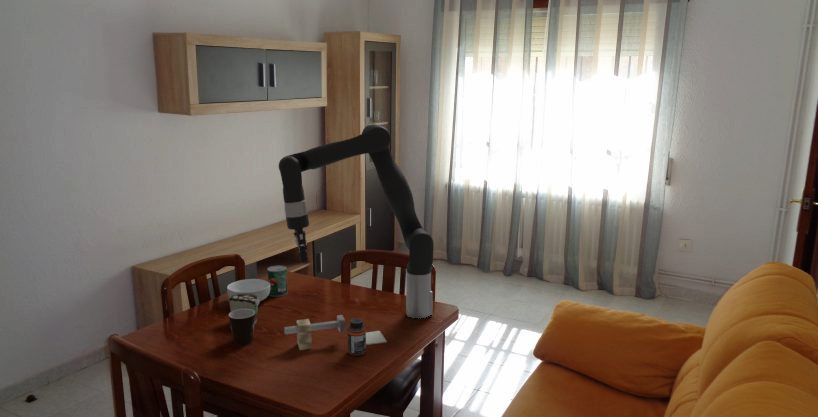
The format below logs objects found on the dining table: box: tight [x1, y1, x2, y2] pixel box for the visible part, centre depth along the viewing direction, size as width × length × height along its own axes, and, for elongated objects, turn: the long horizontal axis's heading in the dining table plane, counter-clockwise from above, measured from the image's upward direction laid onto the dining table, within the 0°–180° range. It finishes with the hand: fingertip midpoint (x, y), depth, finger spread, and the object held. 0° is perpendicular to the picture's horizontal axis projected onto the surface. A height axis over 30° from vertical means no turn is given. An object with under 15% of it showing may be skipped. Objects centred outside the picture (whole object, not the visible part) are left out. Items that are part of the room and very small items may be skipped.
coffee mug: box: [228, 309, 255, 346], centre depth 204 cm, size 12×9×10 cm
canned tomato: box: [266, 264, 289, 298], centre depth 248 cm, size 8×8×11 cm
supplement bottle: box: [347, 317, 367, 357], centre depth 195 cm, size 6×6×11 cm
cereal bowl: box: [226, 278, 270, 303], centre depth 239 cm, size 17×17×7 cm
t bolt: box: [283, 314, 346, 335], centre depth 200 cm, size 20×4×4 cm, turn 109°
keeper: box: [296, 318, 313, 351], centre depth 199 cm, size 4×5×9 cm
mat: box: [366, 330, 387, 346], centre depth 206 cm, size 9×9×1 cm
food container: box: [227, 293, 260, 327], centre depth 220 cm, size 12×6×10 cm, turn 71°
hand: (303, 259), depth 208 cm, fingers open, 8 cm apart
